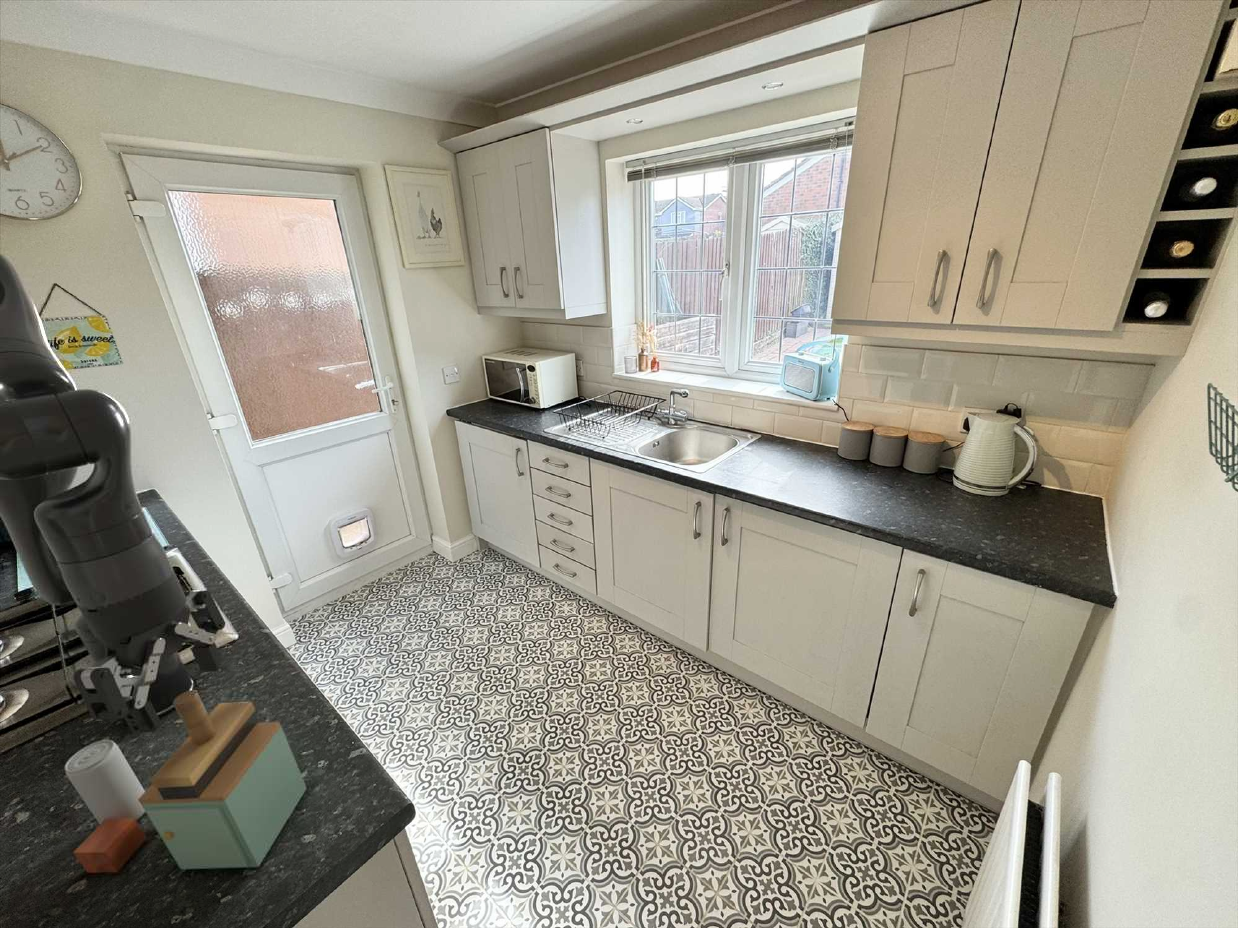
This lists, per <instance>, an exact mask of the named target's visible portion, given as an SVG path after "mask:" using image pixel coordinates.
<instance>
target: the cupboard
mask: <svg viewBox="0 0 1238 928" xmlns="http://www.w3.org/2000/svg"><path fill="white" fill-rule="evenodd" d="M304 780H305V779H304V778H303V775H302V773H301V771H300V769H299V766H298V764H297V762H296V758H295V756H294V753H293V751H292V749H291V747H290V745H289V742H288V739H287V737H286V734H285V732H284V730H283V727H282V725H281V722H280V721H275V722H274V721H273V722H258V723H257V724H256V725H255V726H254V728H253V729H252V730H251V732H250V733H249V734H248V735H247V737H246V738H245V739H244V740H243V742H242V743H241V744H240V746H239V747H238V748H237V749H236V751H235V752H234V753H233V754H232V756H231V757H230V758H229V760H228V761H227V762H226V763H225V765H224V766H223V767H222V768H221V770H220V771H219V772H218V774H217V775H216V776H215V777H214V779H213V780H212V781H211V782H210V784H209V785H208V786H207V788H206V789H205V790H204V791H203V793H202V794H201V795H200V796H199V798H190V799H173V800H164V799H163V798H162V796H161V794H160V793H159V791H158V789H157V788H155V787H154V785H153V783H152V784H151V785H150V786H149V787H148V788H147V789H146V790H144V791H145V792H144V794H143V795H142V796H141V797H140V798H139V799H138V800H139V802H140V804H141V805H142V807H143V809H144V810H145V814H146V815H147V817H148V819H149V820H150V822H151V823H152V825H153V827H154V829H155V830H156V832H157V833H158V836H159V837H160V838H161V840H162V841H163V843H164V845H165V847H166V848H167V850H168V851H169V853H170V854H171V856H172V858H173V859H174V861H175V863H176V864H177V866H178V867H179V869H180V870H203V869H205V870H206V869H207V870H208V869H238V868H259V867H260V866H261V863H262V862H263V860H264V859H265V858H266V855H267V854H268V853H269V851H270V849H271V847H272V846H273V844H274V842H275V841H276V839H277V838H278V836H279V835H280V833H281V831H282V830H283V828H284V826H285V825H286V823H287V821H288V820H289V818H290V817H291V815H292V813H293V811H294V810H295V808H296V807H297V805H298V804H299V802H300V801H301V799H302V797H303V796H304V793H305V792H306V790H307V788H308V787H307V785H306V783H305V781H304Z"/></svg>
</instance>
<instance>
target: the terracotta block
mask: <svg viewBox="0 0 1238 928" xmlns="http://www.w3.org/2000/svg"><path fill="white" fill-rule="evenodd" d="M146 840H147V835H146V834H145V833H144V831H143V830H142V827H141V826H140V824H139V823H138V820H137V821H136V820H135V819H134V818H132V819H105V820H104V821H103V822H102V823H101V824H99V825H98V826H97V827H96V828H95V829H94V830H93V831H91V833H90V834H89V835H88V837H86V839H85V840H84V841H83V842H82V843H81V844H80V845H78V847H77V848H76V849H75V850H74V851H73V852H72V853H73V855H74V857H76V859H77V860H78V861H79V863H80V864H81V865H82V867H83V868H84V870H85V871H86V872H87V873H118V872H119V871H120V870H121V869H122V868H123V867H124V865H125V864H126V863H127V862H128V861H129V860H130V858H132V856H133V855H134V854H135V853H136V851H138V849H139V848H140V847H141V846H142V844H144V842H145V841H146Z"/></svg>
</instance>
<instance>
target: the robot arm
mask: <svg viewBox="0 0 1238 928" xmlns="http://www.w3.org/2000/svg"><path fill="white" fill-rule="evenodd" d="M26 285H27V284H26V283H25V281H24V279H23V278H22V276H21V274H20V273H19V271H18V270H17V268H16V267H15V265H14V264H13V263H12V262H11V261H10V260H9V259H8V258H7V257H6V256H5V255H4V254H2V253H1V252H0V518H1V520H2V522H3V523H4V526H5V528H6V530H7V532H8V534H9V536H10V539H11V541H12V543H13V546H14V548H15V550H16V552H17V553H16V554H17V555H18V557H19V559H20V562H21V563H22V566H23V569H24V571H25V573H26V576H27V577H28V579H29V582H30V583H31V585H32V587H33V588H34V590H35V592H36V593H37V594H38V596H39V597H40V598H41V599H42V600H44V601H45V602H46V603H48V604H50V605H52V606H65V605H69V604H73V603H74V602H75V604H76V606H77V608H78V609H79V611H80V613H81V615H80V616H79V617H78V618H77V620H76V621H75V624H74V628H75V631H76V633H77V635H78V637H79V639H80V640H81V642H82V644H83V645H84V647H85V649H86V651H87V652H88V654H89V656H90V658H91V659H92V661H93V663H94V664H93V665H92V666H91V667H81V668H79V669H77V670H76V671H75V672H74V674H73V675H72V676H73V677H72V678H73V681H74V683H75V685H76V687H77V689H78V691H79V694H80V696H81V698H82V699H83V701H84V703H85V705H86V708H87V710H88V712H89V714H90V716H91V718H92V720H95V721H102V720H122V719H124V720H125V723H127V726H128V727H129V729H130V731H131V732H133V733H155V732H157V730H159V729H160V727H162V725H163V723H162V721H161V718H160V717H162V716H164V715H165V714H168V713H170V712H171V711H174V709H176V708H175V706H174V704H173V701H174V700H175V698H177V697H178V696H179V695H181V694H182V693H184V692H187V691H190V690H195V683H194V681H193V679H192V678H191V676H190V675H189V671H188V670H187V667H186V665H185V664H184V662H183V660H182V657H181V655H180V654H179V651H180V650H182V648H184V645H183V644H186V645H190V646H192V647H191V648H190V651H191V653H192V655H193V657H194V659H195V662H196V663H197V666H198V668H199V670H200V671H202V672H203V673H209V672H212V673H214V672H217V671H218V670H219V669H221V668H222V666H223V665H222V662H221V661H222V656H221V653H220V651H219V648H218V646H217V644H216V640H217V634H218V632H219V631H221V630H223V629H224V628H225V627H226V621H225V618H224V617H223V615H222V613H221V611H220V609H219V608H218V605H217V603H216V602H215V600H214V598H213V596H212V593H211V592H210V590H208V589H203V590H185V591H184V590H183V587H182V585H181V583H180V581H179V579H178V576H177V574H176V572H175V569H174V568H173V566H172V563H171V561H170V558H169V557H168V555H167V552H166V550H165V549H164V546H163V545H162V544H161V542H160V541H159V539H158V538H157V536H156V534H155V533H154V532H153V530H152V528H151V526H150V523H149V520H148V519H147V516H146V514H145V511H144V509H143V506H142V504H141V503H140V500H139V497H138V494H137V490H136V487H135V482H134V478H133V477H134V476H133V463H132V462H133V461H132V428H131V423H130V419H129V416H128V414H127V412H126V410H125V408H124V407H123V406H122V405H121V404H120V403H119V402H118V401H117V400H116V399H114V398H113V397H111V396H110V395H108V394H106V393H104V392H102V391H99V390H96V389H88V388H86V389H77V387H76V383H75V381H74V380H73V378H72V377H71V375H70V374H69V373H68V371H67V369H66V368H65V367H64V366H63V364H62V362H61V361H60V360H59V358H58V357H57V355H56V353H54V352H53V350H52V348H51V346H50V343H49V341H48V338H47V335H46V331H45V328H44V325H43V322H42V319H41V317H40V314H39V312H38V310H37V307H36V305H35V302H34V301H33V299H32V296H31V294H30V292H29V290H28V287H27V286H26ZM87 465H93V469H92V472H91V474H89V476H88V478H87V479H86V480H84V481H83V482H81V483H80V484H78V485H75V486H73V484H74V482H75V480H76V477H77V475H78V470H79V468H80V467H84V466H87ZM72 486H73V487H72ZM190 616H191V617H192V619H193V621H194V623H195V624H196V626H192V625H190V624H189V623H190Z"/></svg>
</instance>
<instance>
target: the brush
mask: <svg viewBox="0 0 1238 928" xmlns="http://www.w3.org/2000/svg"><path fill="white" fill-rule="evenodd" d="M173 704H174V706H175V708H174V709H175V710H176V712H177V714H178V715H179V718H180V720H181V721H182V724H183V725H184V727H185V729H186V731H187V733H188V737H187V738H186V739H185V740H184V742H183V743H182V744H181V745H180V746H179V747H178V748H177V749H176V750H175V751H174V753H172V755H170V757H169V758H168V759H167V760H166V761H165V762H164V763H163V764H162V766H161V767H159V769H158V770H157V771H156V772H155V774H154V775H152V777H151V778H150V782H151V783H152V784H153V785H154V787H155V788H157V789H158V791H159V793H160V794H161V796H162V798H163V799H164V800H173V799H190V798H199V796H200V795H201V794H202V793H203V791H204V790H205V789H206V788H207V786H208V785H209V784H210V782H211V781H212V780H213V779H214V777H215V776H216V775H217V774H218V772H219V771H220V770H221V768H222V767H223V766H224V765H225V763H226V762H227V761H228V760H229V758H230V757H231V756H232V754H233V753H234V752H235V751H236V749H237V748H238V747H239V746H240V744H241V743H242V742H243V740H244V739H245V738H246V737H247V735H248V734H249V733H250V732H251V730H252V729H253V728H254V726H255V725H256V724H257V723H259V717H258V715H257V713H256V708H255V705H254V703H253V701H239V702H222V703H217V705H216V707H214V709H213V710H211V712H210V713H208V711H207V709H206V707H205V705H204V703H203V701H202V699H201V696H200V695H199V692H198V690H195V689H194V690H190V691H187V692H184V693H182V694H181V695H179V696H178V697H177V698H175V700H174V701H173Z"/></svg>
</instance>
